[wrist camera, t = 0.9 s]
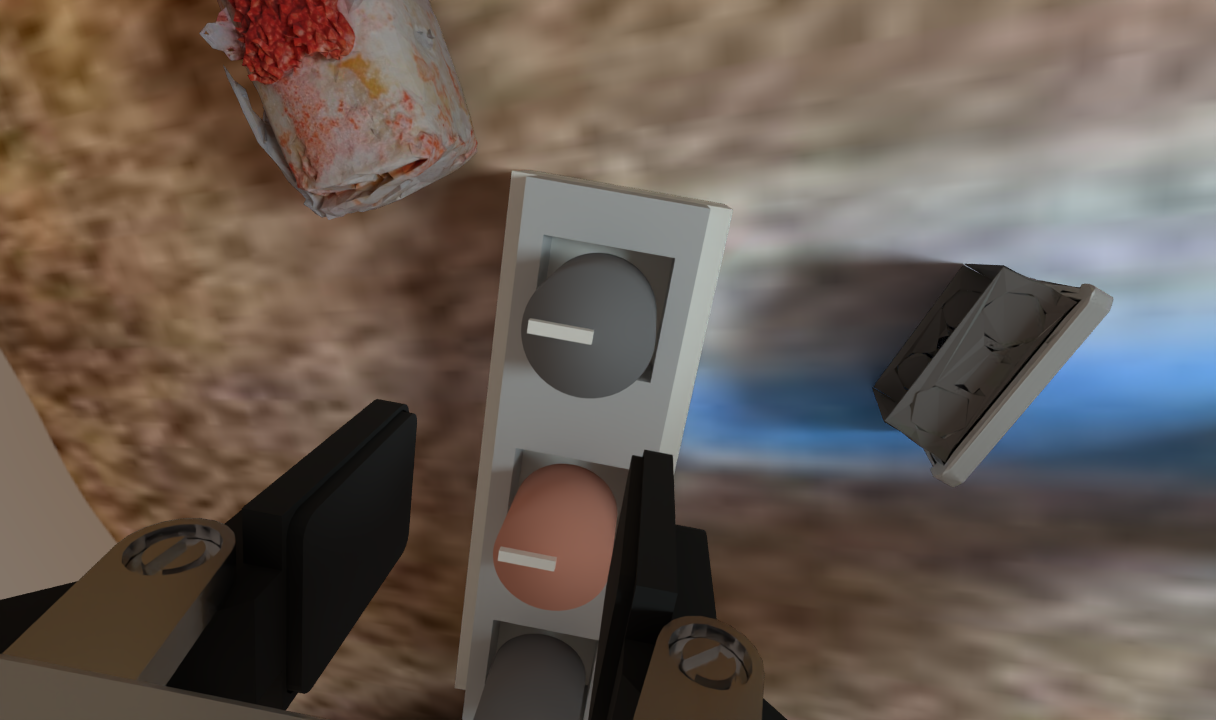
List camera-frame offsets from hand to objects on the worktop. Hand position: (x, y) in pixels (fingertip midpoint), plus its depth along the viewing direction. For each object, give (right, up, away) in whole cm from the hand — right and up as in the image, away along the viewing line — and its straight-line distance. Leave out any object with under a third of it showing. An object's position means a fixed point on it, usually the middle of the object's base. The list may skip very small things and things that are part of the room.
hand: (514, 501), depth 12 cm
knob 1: (-2, -14, +21) cm, 25 cm away
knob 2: (+1, +5, +15) cm, 16 cm away
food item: (-9, +18, +19) cm, 28 cm away
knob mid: (0, -5, +18) cm, 19 cm away
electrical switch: (+19, +4, +21) cm, 28 cm away
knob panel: (0, -3, +24) cm, 24 cm away
